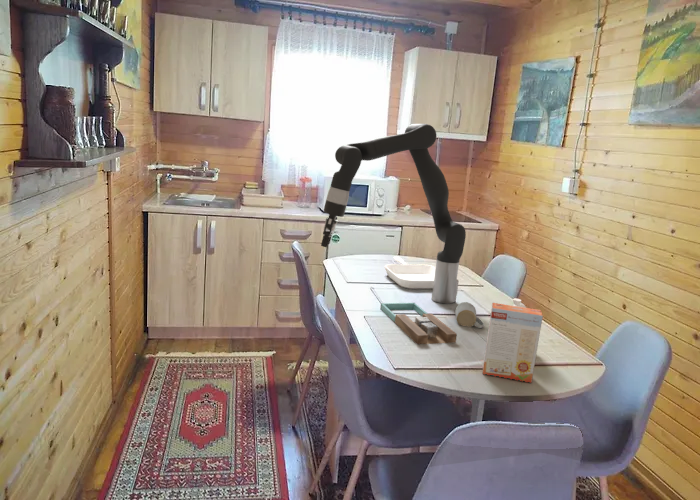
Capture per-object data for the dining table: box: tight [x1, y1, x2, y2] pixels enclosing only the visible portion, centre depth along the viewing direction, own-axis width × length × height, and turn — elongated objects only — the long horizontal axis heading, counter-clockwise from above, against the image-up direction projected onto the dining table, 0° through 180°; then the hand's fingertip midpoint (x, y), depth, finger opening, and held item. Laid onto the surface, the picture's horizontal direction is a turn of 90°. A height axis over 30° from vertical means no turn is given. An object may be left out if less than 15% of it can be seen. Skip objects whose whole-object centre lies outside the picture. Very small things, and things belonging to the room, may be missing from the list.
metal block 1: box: [414, 316, 431, 328], centre depth 184 cm, size 4×4×4 cm
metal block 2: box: [421, 322, 438, 339], centre depth 179 cm, size 4×4×4 cm
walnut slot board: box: [394, 313, 458, 345], centre depth 183 cm, size 14×19×4 cm
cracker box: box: [482, 302, 544, 384], centre depth 155 cm, size 14×6×21 cm, turn 75°
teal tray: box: [379, 302, 429, 323], centre depth 198 cm, size 14×14×3 cm
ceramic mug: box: [454, 301, 485, 329], centre depth 195 cm, size 11×8×8 cm
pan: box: [384, 255, 436, 290], centre depth 255 cm, size 27×44×5 cm, turn 16°
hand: (325, 245), depth 192 cm, fingers open, 8 cm apart
